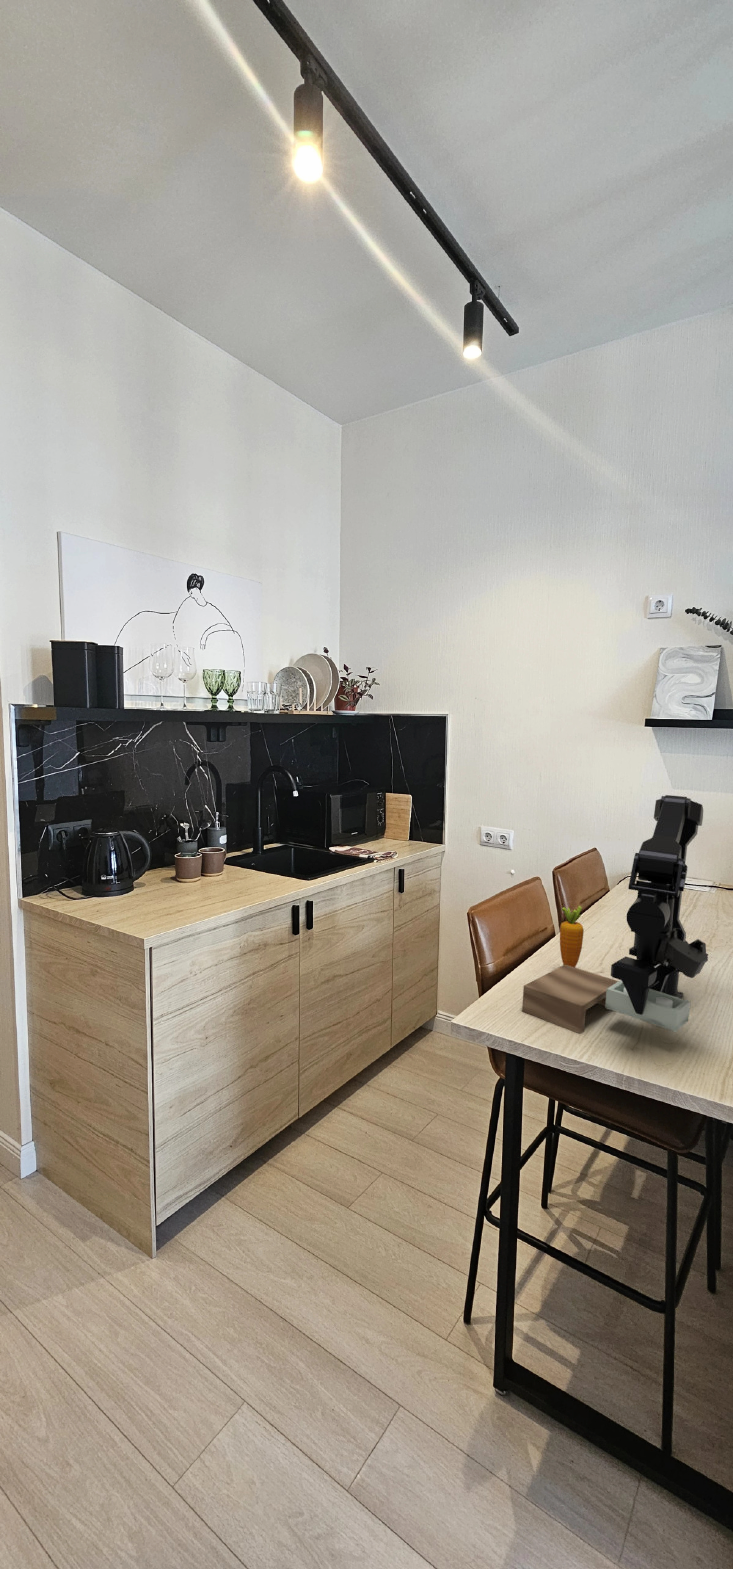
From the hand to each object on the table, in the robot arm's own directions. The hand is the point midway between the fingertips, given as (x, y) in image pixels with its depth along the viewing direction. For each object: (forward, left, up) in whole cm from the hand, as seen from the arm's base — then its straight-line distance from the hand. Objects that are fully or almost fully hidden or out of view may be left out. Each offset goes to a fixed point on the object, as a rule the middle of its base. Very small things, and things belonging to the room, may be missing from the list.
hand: (646, 1008), depth 115 cm
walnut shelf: (0, -14, -5) cm, 15 cm away
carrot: (-16, -22, -5) cm, 28 cm away
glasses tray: (0, 0, -1) cm, 1 cm away
